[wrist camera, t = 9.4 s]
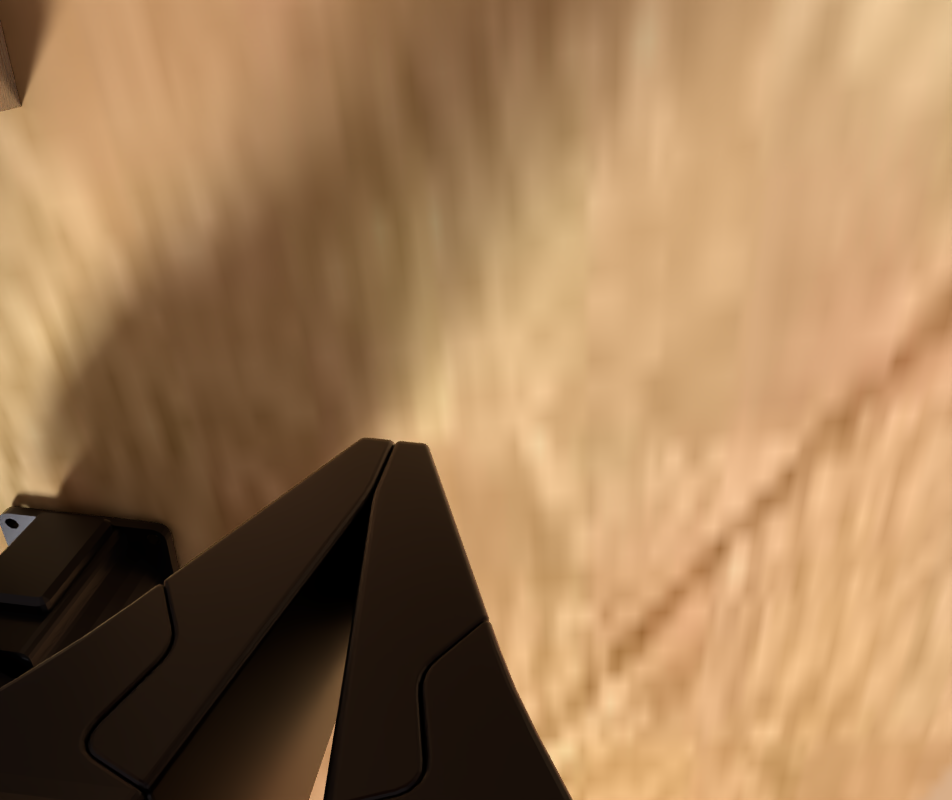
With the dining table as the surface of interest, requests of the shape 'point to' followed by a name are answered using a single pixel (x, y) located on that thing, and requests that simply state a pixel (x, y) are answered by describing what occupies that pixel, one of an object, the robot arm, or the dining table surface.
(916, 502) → the dining table surface
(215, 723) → the robot arm
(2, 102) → the grey square frame
